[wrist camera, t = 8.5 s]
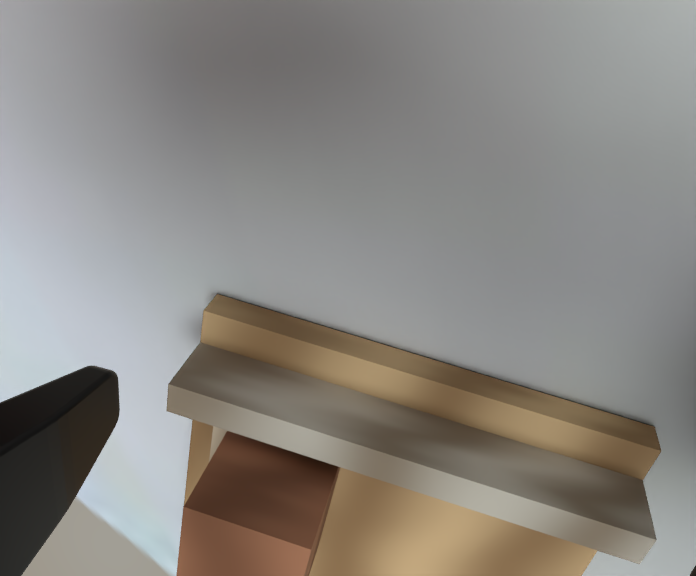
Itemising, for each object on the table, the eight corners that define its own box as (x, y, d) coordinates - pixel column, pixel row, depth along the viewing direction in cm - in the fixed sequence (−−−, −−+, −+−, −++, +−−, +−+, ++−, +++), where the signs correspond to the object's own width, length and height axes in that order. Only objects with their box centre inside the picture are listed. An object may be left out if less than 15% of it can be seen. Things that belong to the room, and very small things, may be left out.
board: (654, 426, 22) (677, 510, 19) (521, 642, 29) (522, 729, 26) (217, 293, 23) (170, 350, 20) (190, 529, 30) (153, 599, 27)
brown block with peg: (352, 425, 23) (311, 549, 19) (303, 601, 29) (262, 729, 24) (249, 392, 24) (183, 506, 19) (220, 572, 29) (164, 693, 25)
